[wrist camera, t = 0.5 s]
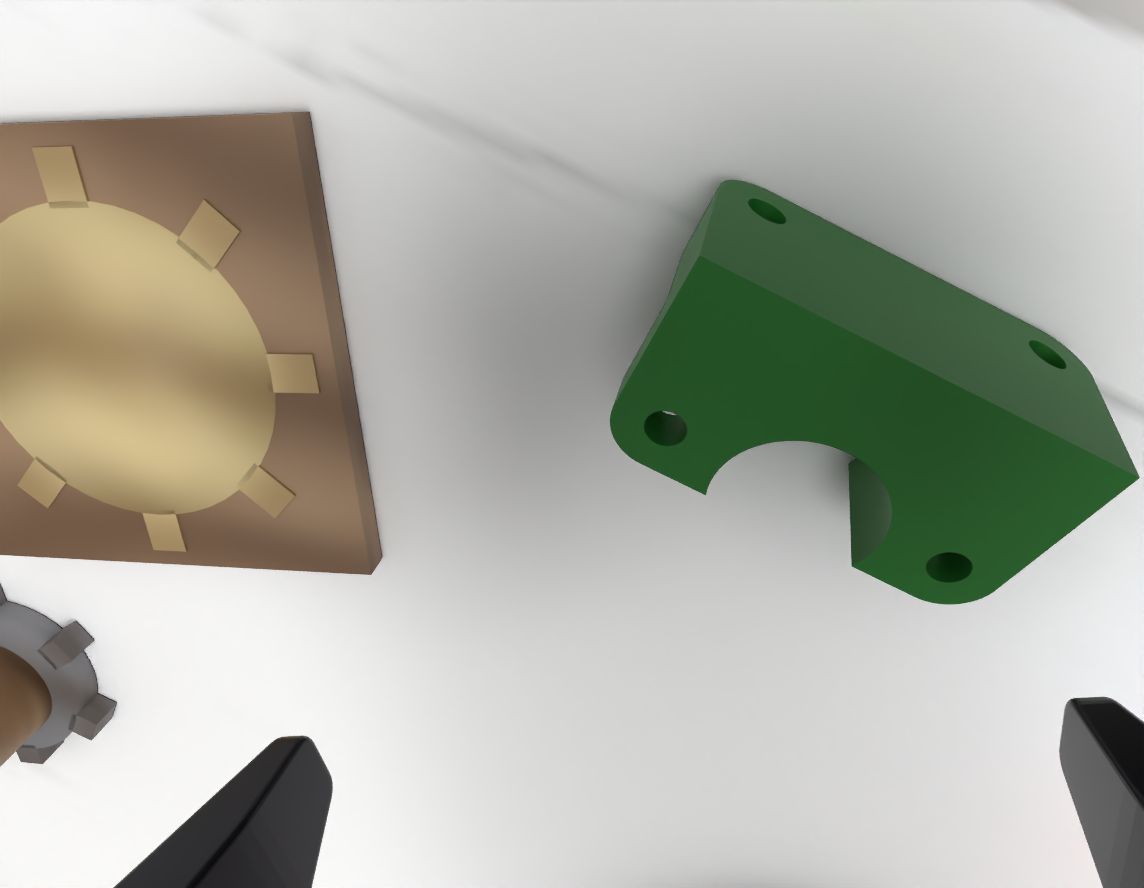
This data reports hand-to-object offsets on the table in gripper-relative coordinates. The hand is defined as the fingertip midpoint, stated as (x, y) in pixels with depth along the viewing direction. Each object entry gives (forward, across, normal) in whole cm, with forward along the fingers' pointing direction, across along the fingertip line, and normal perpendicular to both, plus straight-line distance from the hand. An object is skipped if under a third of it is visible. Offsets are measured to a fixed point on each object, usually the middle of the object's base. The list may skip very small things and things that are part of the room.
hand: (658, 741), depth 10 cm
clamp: (+15, -4, +2) cm, 15 cm away
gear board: (+15, +17, -1) cm, 22 cm away
